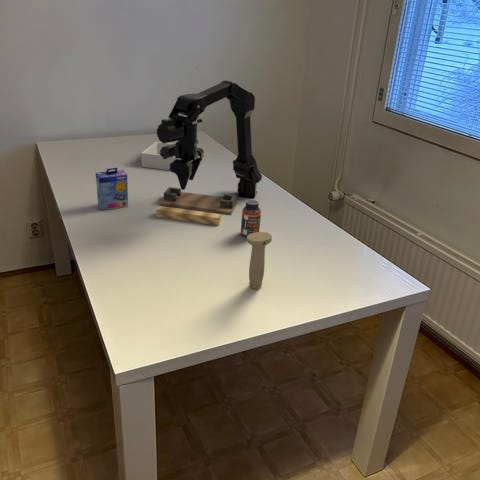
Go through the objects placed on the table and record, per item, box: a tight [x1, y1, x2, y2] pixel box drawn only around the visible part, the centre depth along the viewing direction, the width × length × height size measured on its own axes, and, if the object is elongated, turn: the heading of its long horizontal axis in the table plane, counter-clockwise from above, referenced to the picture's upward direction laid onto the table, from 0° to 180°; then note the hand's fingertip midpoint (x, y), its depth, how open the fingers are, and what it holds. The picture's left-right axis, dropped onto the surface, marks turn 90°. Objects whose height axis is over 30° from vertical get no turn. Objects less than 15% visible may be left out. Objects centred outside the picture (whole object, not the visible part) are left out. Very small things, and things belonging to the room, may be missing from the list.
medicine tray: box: [140, 141, 182, 171], centre depth 215 cm, size 18×18×6 cm
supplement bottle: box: [240, 199, 262, 238], centre depth 156 cm, size 6×6×11 cm
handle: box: [246, 231, 273, 290], centre depth 127 cm, size 5×6×15 cm
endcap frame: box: [159, 186, 239, 215], centre depth 177 cm, size 26×12×4 cm, turn 79°
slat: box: [155, 205, 223, 226], centre depth 165 cm, size 22×3×3 cm, turn 78°
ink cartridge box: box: [95, 167, 129, 211], centre depth 169 cm, size 10×6×14 cm, turn 120°
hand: (187, 184), depth 161 cm, fingers open, 9 cm apart
